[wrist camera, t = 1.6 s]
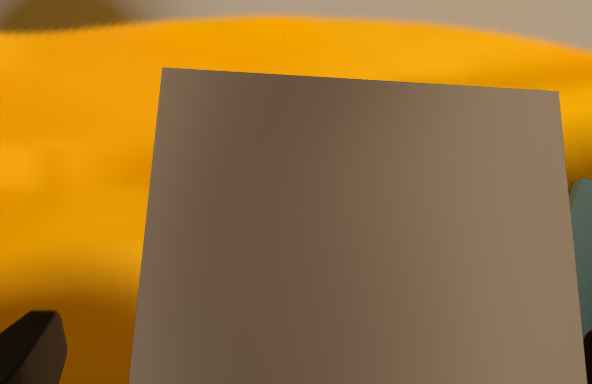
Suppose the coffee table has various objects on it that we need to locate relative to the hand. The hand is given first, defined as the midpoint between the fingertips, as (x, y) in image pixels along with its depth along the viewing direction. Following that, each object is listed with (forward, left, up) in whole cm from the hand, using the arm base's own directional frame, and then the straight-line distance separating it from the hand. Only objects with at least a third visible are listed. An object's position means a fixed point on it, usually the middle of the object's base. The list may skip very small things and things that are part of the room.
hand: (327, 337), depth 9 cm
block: (+1, 0, -9) cm, 9 cm away
